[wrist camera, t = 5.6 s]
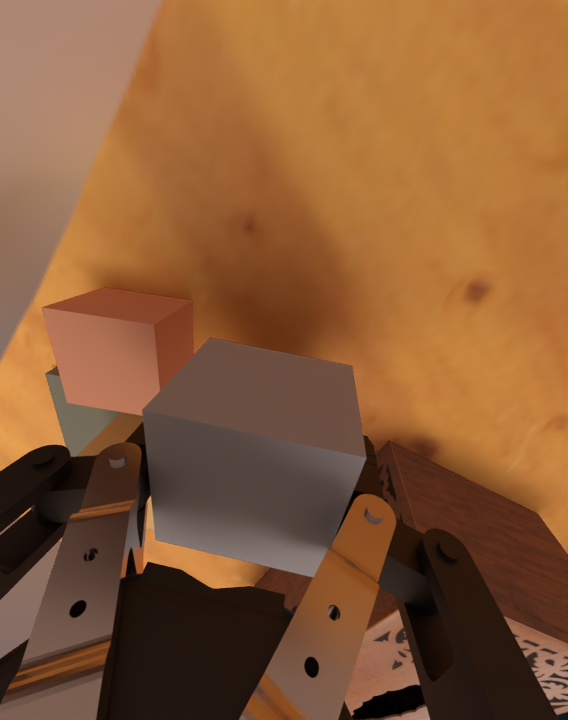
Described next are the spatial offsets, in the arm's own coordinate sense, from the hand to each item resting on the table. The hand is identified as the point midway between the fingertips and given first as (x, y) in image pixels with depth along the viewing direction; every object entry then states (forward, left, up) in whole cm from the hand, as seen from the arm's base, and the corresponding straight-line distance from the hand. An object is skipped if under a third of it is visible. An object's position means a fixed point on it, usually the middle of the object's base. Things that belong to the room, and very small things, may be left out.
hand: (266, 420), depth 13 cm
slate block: (0, 0, -1) cm, 1 cm away
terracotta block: (+1, -10, -8) cm, 12 cm away
